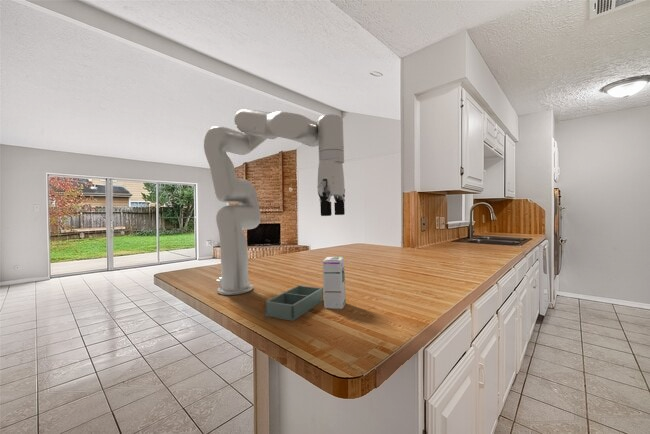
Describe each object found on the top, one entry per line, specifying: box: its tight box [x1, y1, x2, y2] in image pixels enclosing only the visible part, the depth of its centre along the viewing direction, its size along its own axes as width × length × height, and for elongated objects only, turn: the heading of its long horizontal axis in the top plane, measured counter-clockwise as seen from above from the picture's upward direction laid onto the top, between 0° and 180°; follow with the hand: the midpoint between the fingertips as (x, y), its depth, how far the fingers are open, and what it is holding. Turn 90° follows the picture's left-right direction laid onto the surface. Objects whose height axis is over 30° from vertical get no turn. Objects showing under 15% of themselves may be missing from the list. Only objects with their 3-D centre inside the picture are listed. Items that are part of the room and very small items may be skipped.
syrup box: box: [322, 256, 346, 310], centre depth 85 cm, size 6×6×14 cm
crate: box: [264, 285, 324, 322], centre depth 84 cm, size 18×9×4 cm, turn 154°
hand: (333, 215), depth 84 cm, fingers open, 9 cm apart
